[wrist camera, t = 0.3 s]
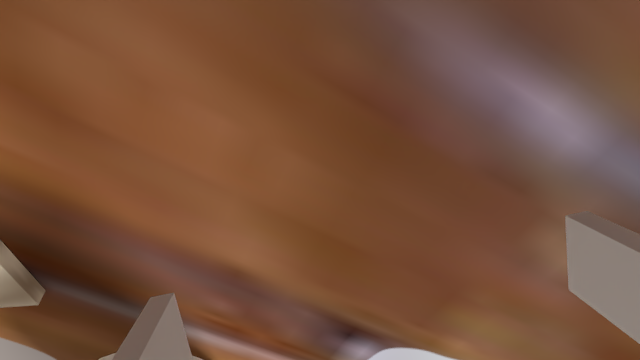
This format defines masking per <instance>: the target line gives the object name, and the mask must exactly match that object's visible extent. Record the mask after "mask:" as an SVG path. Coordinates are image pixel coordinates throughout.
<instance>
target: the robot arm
mask: <svg viewBox="0 0 640 360" xmlns="http://www.w3.org/2000/svg"><path fill="white" fill-rule="evenodd" d="M565 219H566V241H567V263H568V284H569V290H570V291H571V292H572V293H574V294H575V295H576V296H578V297H579V298H580V299H581V300H583V301H584V302H585V303H587V304H588V305H589V306H591V307H592V308H593V309H595V310H596V311H597V312H599V313H600V314H601V315H602V316H604V317H605V318H606V319H608V320H609V321H610V322H612V323H613V324H614V325H616V326H617V327H618V328H620V329H621V330H622V331H624V332H625V333H626V334H627V335H629V336H630V337H631V338H633V339H634V340H635V341H637V342H638V343H639V344H640V235H639V234H637V233H635V232H633V231H630V230H628V229H626V228H624V227H622V226H619V225H617V224H615V223H613V222H610V221H608V220H606V219H604V218H602V217H599V216H597V215H595V214H593V213H591V212H588V211H586V212H581V213H576V214H571V215H566V216H565ZM112 360H193V358H192V354H191V351H190V347H189V344H188V340H187V337H186V333H185V330H184V326H183V323H182V319H181V316H180V312H179V309H178V305H177V302H176V298H175V295H174V293H170V294H165V295H160V296H155V297H150V299H149V301H148V302H147V304H146V305H145V307H144V309H143V310H142V312H141V314H140V315H139V317H138V318H137V320H136V322H135V323H134V325H133V326H132V328H131V330H130V331H129V333H128V335H127V336H126V338H125V339H124V341H123V343H122V344H121V346H120V348H119V349H118V351H117V352H116V354H115V356H114V357H113V359H112Z"/></svg>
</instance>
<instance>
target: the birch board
mask: <svg viewBox="0 0 640 360" xmlns="http://www.w3.org/2000/svg"><path fill="white" fill-rule="evenodd" d="M44 293H45V289H44V288H43V287H42V286H41V285H40V284H39V283H38V282H37V280H36V279H35V278H34V277H33V276H32V275H31V274H30V273H29V271H28V270H27V269H26V268H25V267H24V266H23V265H22V264H21V262H20V261H19V260H18V259H17V258H16V257H15V256H14V255H13V253H12V252H11V251H10V250H9V249H8V248H7V247H6V246H5V245H4V243H3V242H2V241H1V240H0V308H3V307H17V306H31V305H39V303H40V301H41V299H42V297H43V295H44Z"/></svg>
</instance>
